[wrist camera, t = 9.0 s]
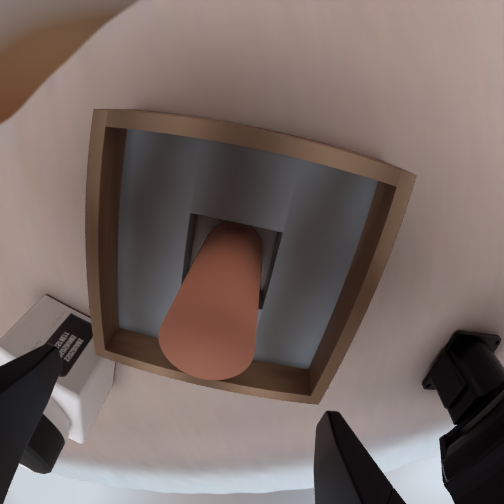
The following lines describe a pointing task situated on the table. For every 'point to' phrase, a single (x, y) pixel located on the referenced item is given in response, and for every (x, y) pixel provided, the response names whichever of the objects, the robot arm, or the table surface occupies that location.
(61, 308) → the container
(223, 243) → the peg
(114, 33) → the table surface
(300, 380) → the box
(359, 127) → the table surface
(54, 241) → the table surface
